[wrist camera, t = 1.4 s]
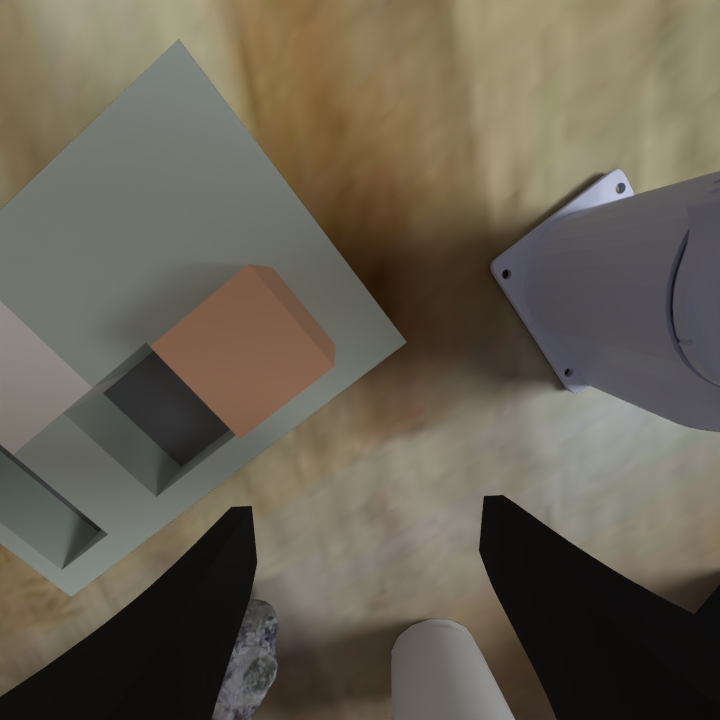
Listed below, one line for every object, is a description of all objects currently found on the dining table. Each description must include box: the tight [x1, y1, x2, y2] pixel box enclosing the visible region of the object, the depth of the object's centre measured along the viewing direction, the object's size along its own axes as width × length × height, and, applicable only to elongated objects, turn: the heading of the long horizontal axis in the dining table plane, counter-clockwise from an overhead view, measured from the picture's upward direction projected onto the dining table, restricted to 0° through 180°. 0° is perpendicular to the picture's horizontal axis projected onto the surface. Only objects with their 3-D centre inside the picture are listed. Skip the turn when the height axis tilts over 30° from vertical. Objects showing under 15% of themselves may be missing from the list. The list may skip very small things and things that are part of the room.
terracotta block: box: [150, 264, 336, 439], centre depth 14 cm, size 4×4×4 cm
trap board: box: [0, 39, 407, 597], centre depth 17 cm, size 15×23×3 cm, turn 128°
